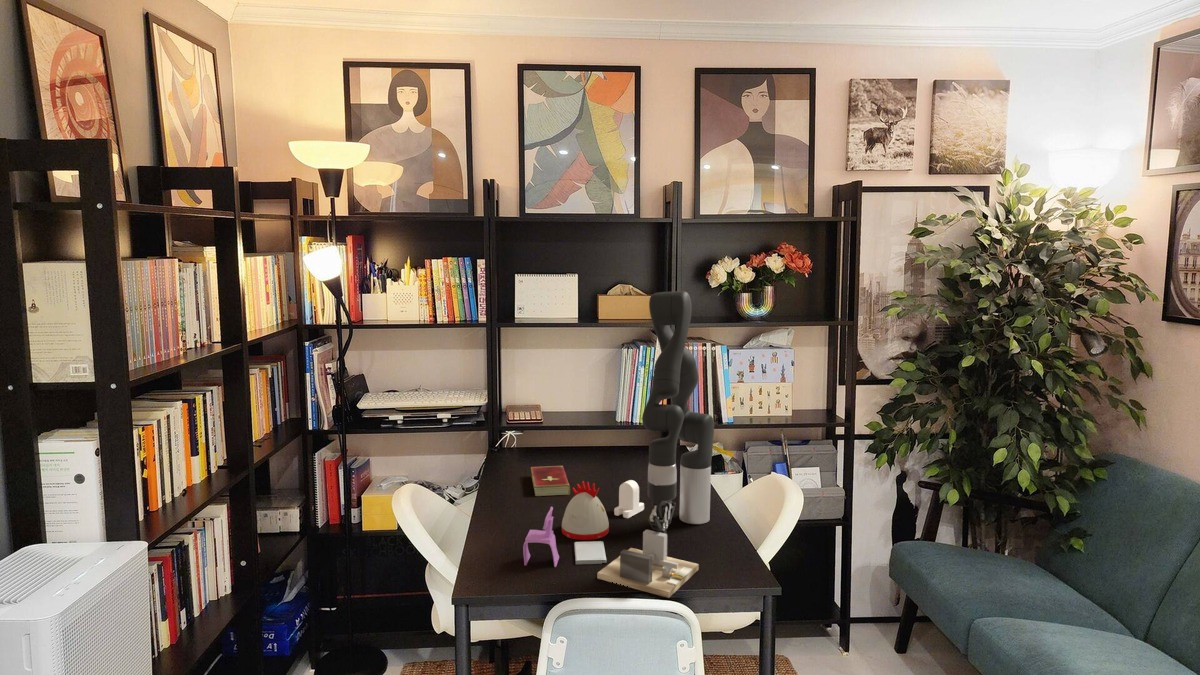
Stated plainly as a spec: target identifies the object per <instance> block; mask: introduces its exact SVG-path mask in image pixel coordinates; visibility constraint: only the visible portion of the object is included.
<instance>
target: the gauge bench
mask: <svg viewBox="0 0 1200 675" xmlns="http://www.w3.org/2000/svg"><path fill="white" fill-rule="evenodd" d="M652 559H653V556H649V555H645V554H643V549H642V550H641V549H638V548H633V547H630V548H629V549H622V550H620V552H619V556H618V557H617V558H615V559H614V560H612V561H611V562H610V563H609V564H607V565H605V567H603V568H602V569H601V570H599V571H598V572H597V579H598V580H602V581H606V582H608V583H612V582H613V584H616V583H617V584H616V585H620V584H621V585H620V586H623V585H624V586H623V587H627V586H628V587H627V588H632V589H634V590H638V591H642V592H646V593H650V594H652V595H657V596H660V597H663V598H668V599H669V598H670V597H671V596H673V594H675V593H676V592H677V591H678V590H679V589H680V588H681V587H682V586H683V585H684V584H685V583H686V582H687V581H688V580H689V579H690V578H692V576H694V574H696V572H698V571H699V568H700V567H699V566H700V565H699V563H696V562H692V561H687V560H682V559H678V558H674V557H670V556H667V561H671V562H675V563H679V565H678V569H674V568H673V574H677V575H681V576H683V578H679V577H675V576H671V577H670V578H667V577H663V576H662V569H663V568H664V567H665V566H660V565H656V564H652Z"/></svg>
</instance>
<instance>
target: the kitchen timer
mask: <svg viewBox="0 0 1200 675" xmlns="http://www.w3.org/2000/svg"><path fill="white" fill-rule="evenodd" d="M590 487H591V488H590ZM576 488H577V490H576ZM576 488H575V487H572V492H573V494H574V495H573V497H572V498H571V499H570V501H569V502H568V503H567V505H566V507H565V510H564V513H563V516H562V522H561V533H562V535H564V536H565V537H567V538H569V539H573V540H581V541H590V540H597V539H600V538H603V537H605V536H607V535H608V533H609V532H610V531H609V530H610V525H609V518H608V515H607V512H606V509H605V507H604V505H603V503H602V502H601V500H600V499H599V497H598V496H597V494H598V492H599V491H600V487H598V488H597V489H596V484H595V482H594V483H592V485H591V486H590V482H589V481H587V482H586V484H585V481H584V480H582V482H581V485H580V484H579V483H577V484H576Z"/></svg>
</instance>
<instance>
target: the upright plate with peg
mask: <svg viewBox="0 0 1200 675" xmlns="http://www.w3.org/2000/svg"><path fill="white" fill-rule="evenodd" d="M642 551H643V554H645V555H649V556H653V559H652V564H656V565H660V566H669V567H673V568H674V569H678V565H679V563H675V562H671V561H667V557H668V533H666V534H664V533H660V532H656V531H655V530H650V529H645V530H644V531H643V532H642Z"/></svg>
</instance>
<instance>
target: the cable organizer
mask: <svg viewBox="0 0 1200 675" xmlns="http://www.w3.org/2000/svg"><path fill="white" fill-rule="evenodd" d="M618 489H619V490H618V506H616V507H614V510H613V512H614V516H618V517H619V516H621V515H622V517H623V518H624V519H629V518H631V517H632V516H635V515H636V514H639V513H640V512H643V511H644V510H645V503H644V502H640V486H639V484H638V483H637V482H636V481H635V480H633V479H629V480H626V481H625V482H622V483H621V484H620V485H619V486H618Z"/></svg>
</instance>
